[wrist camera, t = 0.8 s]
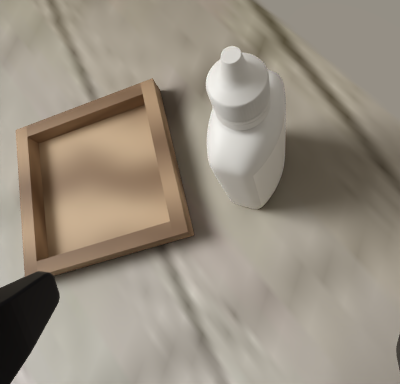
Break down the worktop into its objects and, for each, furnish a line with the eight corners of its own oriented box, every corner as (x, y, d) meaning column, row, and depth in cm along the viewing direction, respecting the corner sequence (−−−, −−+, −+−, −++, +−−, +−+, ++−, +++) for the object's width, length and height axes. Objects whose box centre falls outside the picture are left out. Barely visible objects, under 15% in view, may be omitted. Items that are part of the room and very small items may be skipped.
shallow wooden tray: (194, 235, 22) (187, 231, 21) (41, 279, 24) (25, 279, 22) (160, 90, 26) (152, 78, 24) (30, 138, 28) (15, 130, 26)
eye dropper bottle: (311, 162, 22) (342, 30, 10) (249, 220, 21) (212, 152, 10) (264, 122, 23) (246, -30, 12) (206, 176, 23) (133, 75, 12)
